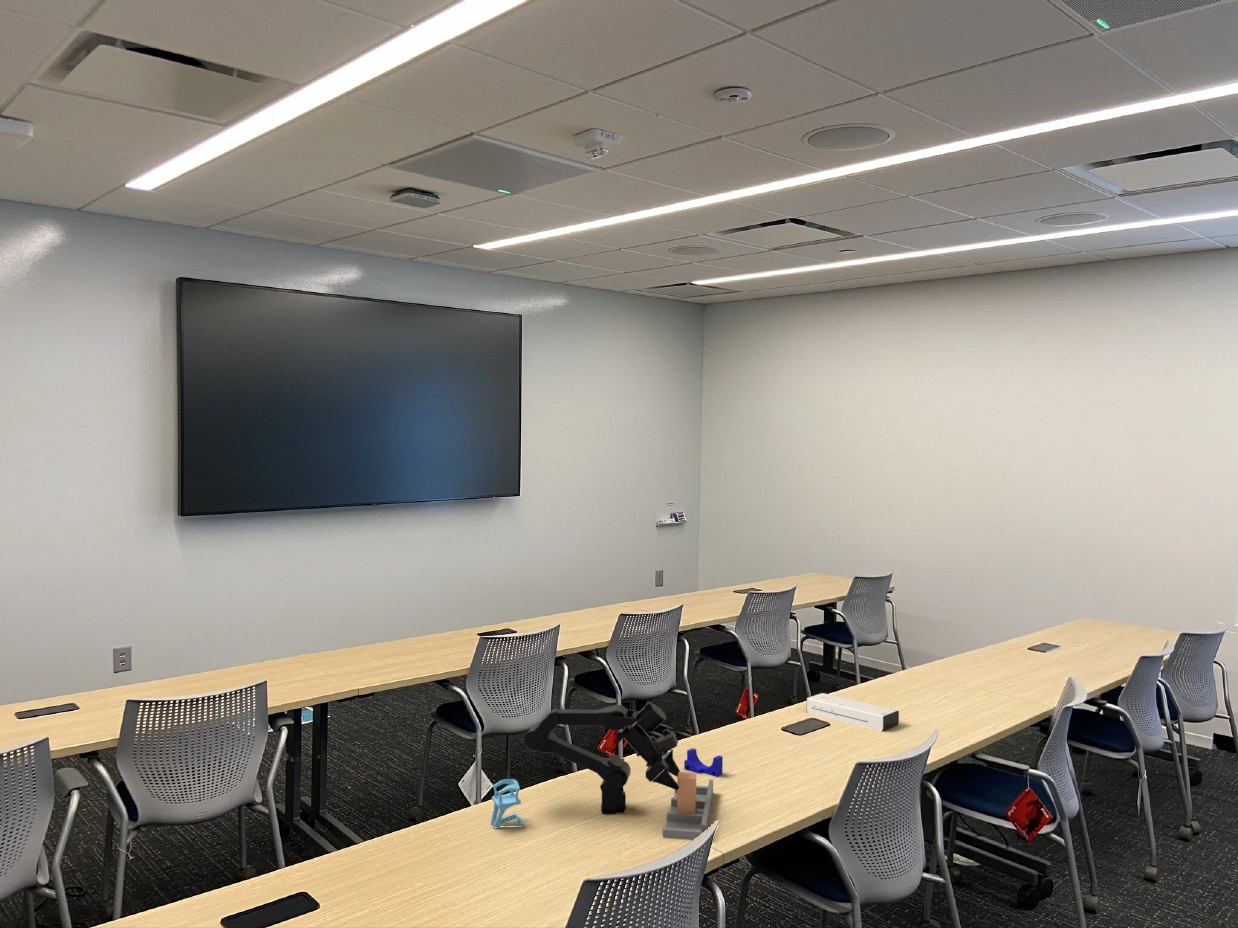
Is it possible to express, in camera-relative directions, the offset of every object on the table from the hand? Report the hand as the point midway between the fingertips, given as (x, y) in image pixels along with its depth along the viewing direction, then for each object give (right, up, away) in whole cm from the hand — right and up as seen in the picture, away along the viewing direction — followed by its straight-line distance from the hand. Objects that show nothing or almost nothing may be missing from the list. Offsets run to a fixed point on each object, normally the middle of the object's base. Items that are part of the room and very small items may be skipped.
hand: (679, 782), depth 253 cm
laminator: (+73, -9, +92) cm, 118 cm away
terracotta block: (+2, -9, 0) cm, 9 cm away
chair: (-49, -9, -6) cm, 50 cm away
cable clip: (+10, -9, +34) cm, 37 cm away
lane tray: (+3, -9, 0) cm, 9 cm away
